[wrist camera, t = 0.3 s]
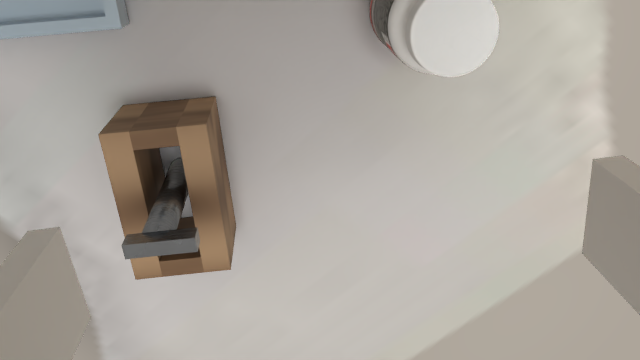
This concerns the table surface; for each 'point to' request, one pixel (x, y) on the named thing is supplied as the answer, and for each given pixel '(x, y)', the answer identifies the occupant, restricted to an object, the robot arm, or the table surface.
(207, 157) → the brown wooden hollow block
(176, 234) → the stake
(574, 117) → the table surface
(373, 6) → the pill bottle
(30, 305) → the robot arm
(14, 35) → the tray
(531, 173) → the table surface
